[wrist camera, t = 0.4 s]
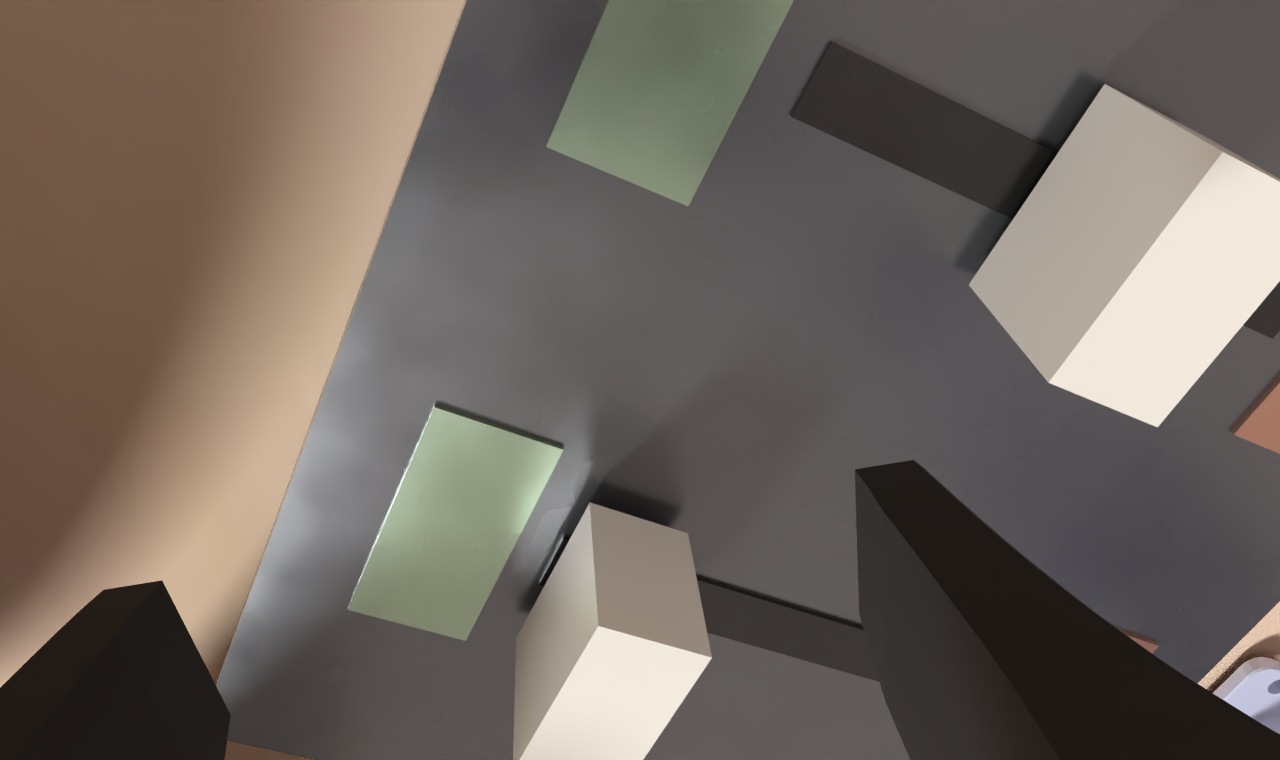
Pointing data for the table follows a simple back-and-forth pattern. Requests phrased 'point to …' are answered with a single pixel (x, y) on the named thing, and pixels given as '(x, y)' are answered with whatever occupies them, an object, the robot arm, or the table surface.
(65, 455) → the table surface
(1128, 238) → the beige rectangular block
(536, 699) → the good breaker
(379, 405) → the breaker panel
